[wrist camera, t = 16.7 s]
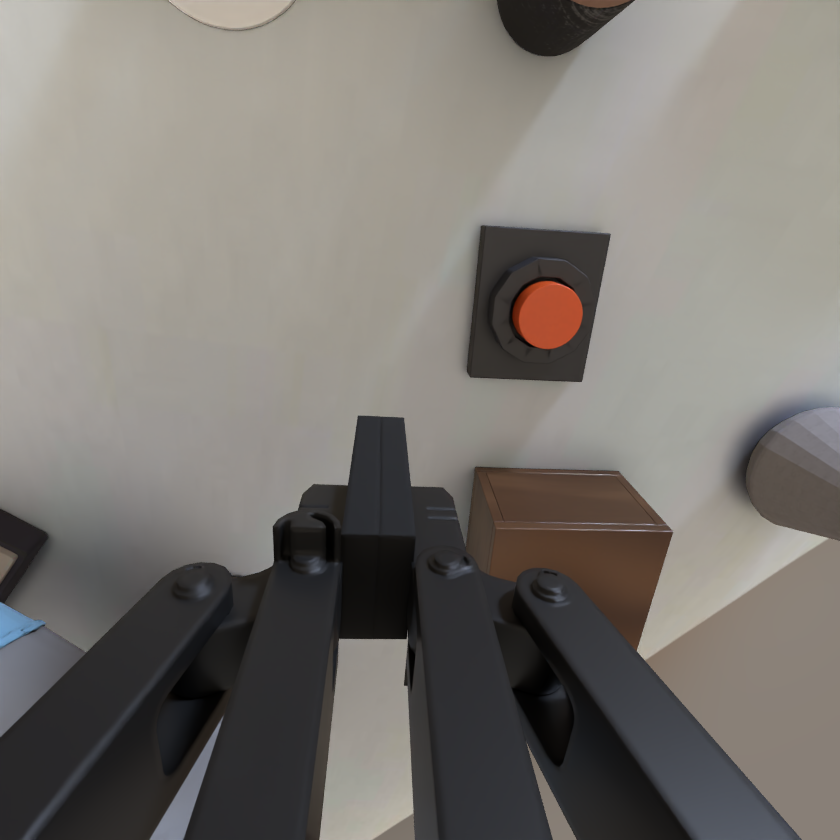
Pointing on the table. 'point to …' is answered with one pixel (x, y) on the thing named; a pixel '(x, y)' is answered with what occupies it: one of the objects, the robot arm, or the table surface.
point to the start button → (547, 314)
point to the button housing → (508, 276)
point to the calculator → (16, 550)
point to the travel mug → (556, 22)
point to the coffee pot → (799, 473)
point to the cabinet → (572, 535)
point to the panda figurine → (233, 12)
